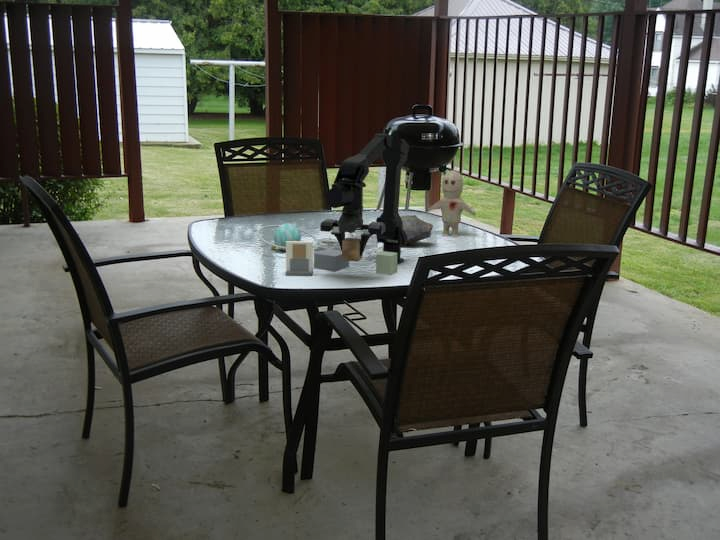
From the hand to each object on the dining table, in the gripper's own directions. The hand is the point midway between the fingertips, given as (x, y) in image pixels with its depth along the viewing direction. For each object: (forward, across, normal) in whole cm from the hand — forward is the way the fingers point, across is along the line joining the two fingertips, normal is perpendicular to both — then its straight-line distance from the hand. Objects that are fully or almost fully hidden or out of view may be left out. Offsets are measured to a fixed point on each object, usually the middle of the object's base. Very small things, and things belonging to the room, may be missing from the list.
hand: (352, 255), depth 231 cm
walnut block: (+1, 0, 0) cm, 1 cm away
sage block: (+7, +9, +9) cm, 14 cm away
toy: (+7, +20, +72) cm, 75 cm away
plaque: (+7, -16, -1) cm, 18 cm away
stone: (+7, +7, +52) cm, 53 cm away
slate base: (+7, -9, +10) cm, 15 cm away
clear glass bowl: (+7, -31, +28) cm, 42 cm away
